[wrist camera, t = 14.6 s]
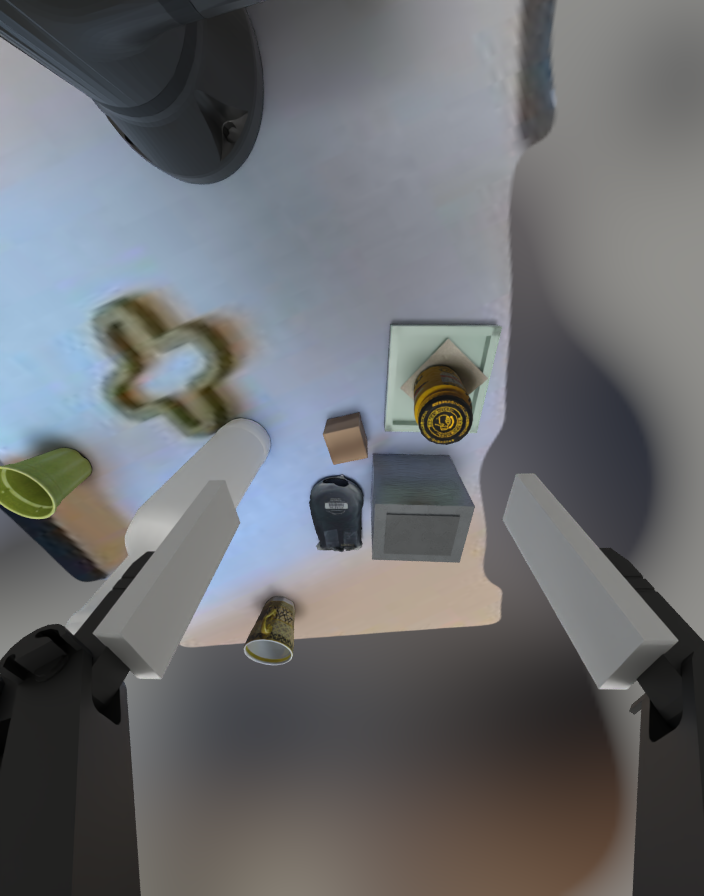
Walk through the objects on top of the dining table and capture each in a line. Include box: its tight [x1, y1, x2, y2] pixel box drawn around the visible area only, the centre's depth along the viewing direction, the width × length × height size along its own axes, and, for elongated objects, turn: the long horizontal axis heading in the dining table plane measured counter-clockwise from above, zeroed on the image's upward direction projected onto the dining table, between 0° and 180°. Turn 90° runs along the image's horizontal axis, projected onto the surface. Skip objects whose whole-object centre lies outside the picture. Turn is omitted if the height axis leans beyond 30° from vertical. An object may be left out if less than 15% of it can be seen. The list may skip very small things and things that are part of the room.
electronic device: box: [309, 475, 363, 552], centre depth 50 cm, size 9×6×15 cm
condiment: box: [400, 339, 488, 445], centre depth 33 cm, size 7×8×12 cm
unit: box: [371, 454, 475, 562], centre depth 42 cm, size 10×12×12 cm
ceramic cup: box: [244, 597, 295, 665], centre depth 61 cm, size 13×10×10 cm
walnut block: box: [323, 412, 368, 465], centre depth 41 cm, size 5×5×5 cm
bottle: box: [65, 418, 271, 635], centre depth 32 cm, size 8×8×30 cm
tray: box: [384, 324, 502, 433], centre depth 38 cm, size 14×13×2 cm
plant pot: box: [0, 448, 92, 519], centre depth 45 cm, size 9×9×9 cm
